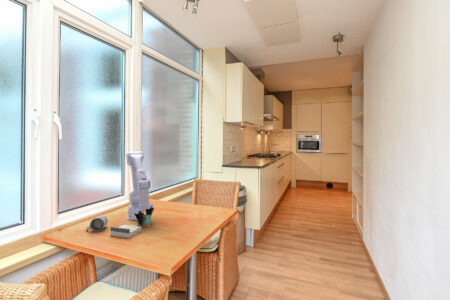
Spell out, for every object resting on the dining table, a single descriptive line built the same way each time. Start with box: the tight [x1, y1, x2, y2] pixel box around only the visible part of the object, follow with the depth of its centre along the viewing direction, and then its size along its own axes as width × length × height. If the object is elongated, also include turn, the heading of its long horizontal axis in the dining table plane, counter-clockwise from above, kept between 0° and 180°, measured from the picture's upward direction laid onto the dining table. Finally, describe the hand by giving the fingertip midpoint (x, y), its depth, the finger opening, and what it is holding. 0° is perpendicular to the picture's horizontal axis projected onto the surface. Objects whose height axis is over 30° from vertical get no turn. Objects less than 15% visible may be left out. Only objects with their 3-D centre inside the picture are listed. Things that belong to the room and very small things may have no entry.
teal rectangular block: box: [137, 213, 153, 228], centre depth 139 cm, size 7×4×6 cm, turn 71°
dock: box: [109, 224, 142, 239], centre depth 127 cm, size 12×10×4 cm
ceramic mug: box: [86, 215, 109, 232], centre depth 134 cm, size 11×8×8 cm
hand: (144, 222), depth 139 cm, fingers open, 7 cm apart
